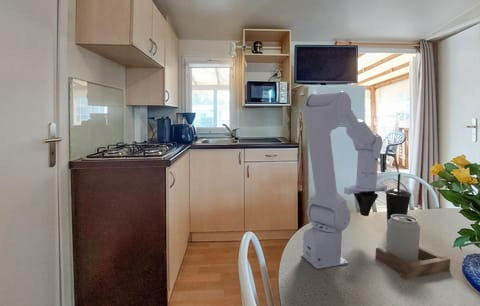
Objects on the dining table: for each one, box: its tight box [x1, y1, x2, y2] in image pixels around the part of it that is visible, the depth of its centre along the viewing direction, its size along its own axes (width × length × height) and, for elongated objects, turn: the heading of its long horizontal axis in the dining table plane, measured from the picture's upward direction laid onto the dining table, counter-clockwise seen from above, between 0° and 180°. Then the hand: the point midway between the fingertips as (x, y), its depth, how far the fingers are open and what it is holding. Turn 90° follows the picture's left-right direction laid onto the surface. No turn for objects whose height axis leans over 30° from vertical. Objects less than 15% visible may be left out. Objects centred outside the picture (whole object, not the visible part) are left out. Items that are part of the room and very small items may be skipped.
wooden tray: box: [374, 246, 451, 281], centre depth 73 cm, size 14×10×3 cm
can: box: [385, 214, 421, 263], centre depth 75 cm, size 8×8×12 cm
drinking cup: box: [384, 173, 412, 226], centre depth 94 cm, size 8×8×20 cm
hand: (364, 215), depth 88 cm, fingers closed
